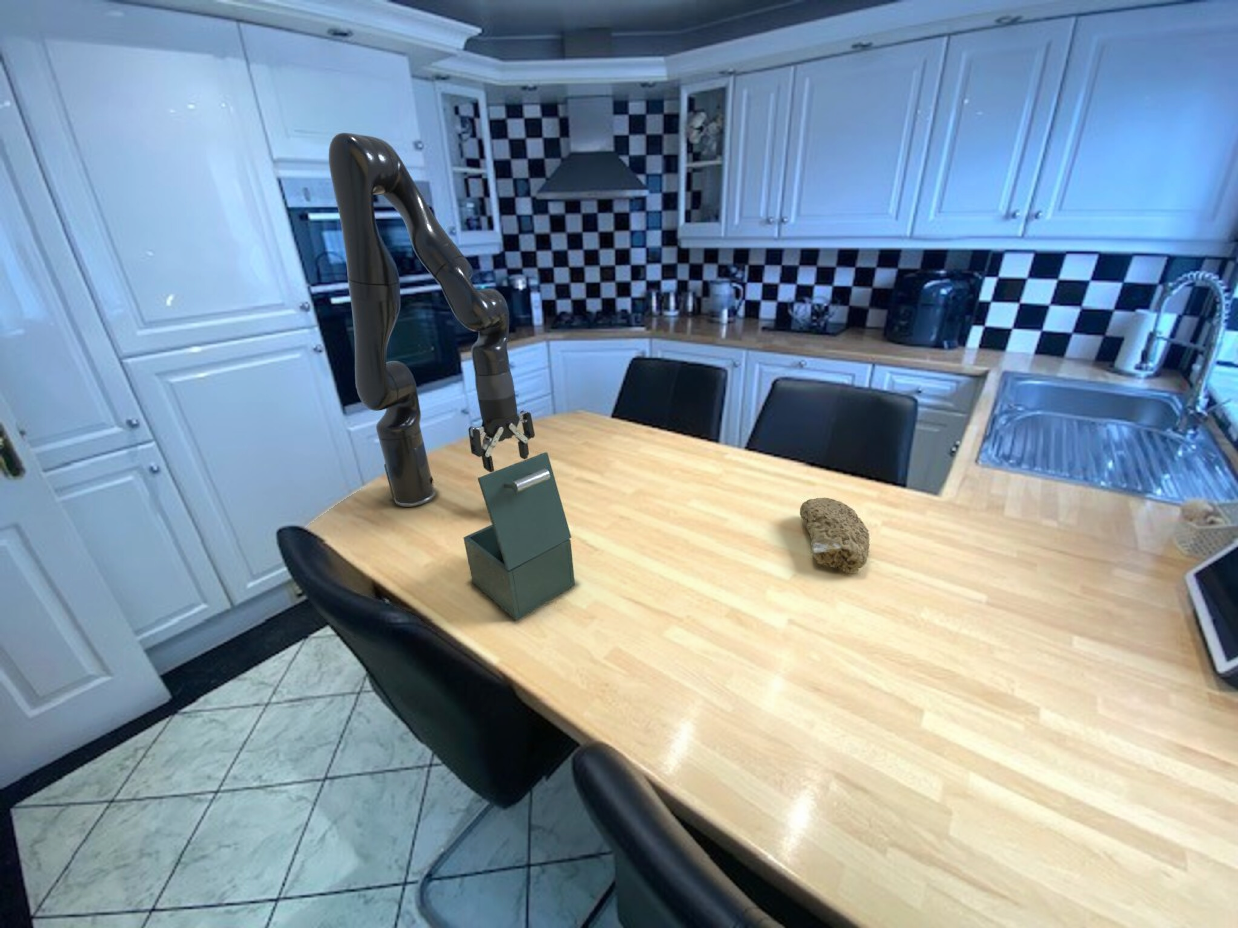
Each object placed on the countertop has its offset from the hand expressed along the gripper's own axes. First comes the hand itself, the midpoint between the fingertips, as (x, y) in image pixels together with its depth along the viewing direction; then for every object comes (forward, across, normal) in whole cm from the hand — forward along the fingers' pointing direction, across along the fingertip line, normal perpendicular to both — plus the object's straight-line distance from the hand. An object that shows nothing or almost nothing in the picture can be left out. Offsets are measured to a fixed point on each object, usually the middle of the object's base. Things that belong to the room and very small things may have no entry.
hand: (507, 464), depth 110 cm
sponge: (+13, -36, +57) cm, 69 cm away
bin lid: (-5, +13, +27) cm, 31 cm away
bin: (+12, +13, +22) cm, 29 cm away
